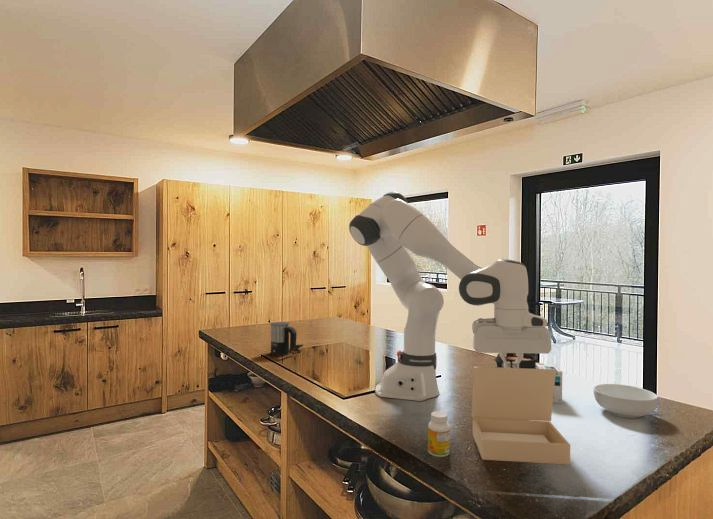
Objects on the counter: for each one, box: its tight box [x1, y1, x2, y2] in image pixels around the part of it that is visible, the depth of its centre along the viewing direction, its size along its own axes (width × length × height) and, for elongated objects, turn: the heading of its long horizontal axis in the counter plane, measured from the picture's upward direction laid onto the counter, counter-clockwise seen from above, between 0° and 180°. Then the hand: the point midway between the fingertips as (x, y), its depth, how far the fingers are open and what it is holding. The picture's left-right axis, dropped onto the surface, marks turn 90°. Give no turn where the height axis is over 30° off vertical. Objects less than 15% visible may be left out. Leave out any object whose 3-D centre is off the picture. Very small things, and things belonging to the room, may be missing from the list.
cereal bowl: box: [593, 383, 659, 419], centre depth 135 cm, size 17×17×7 cm
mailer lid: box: [471, 362, 556, 422], centre depth 119 cm, size 21×15×10 cm
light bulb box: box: [536, 362, 563, 404], centre depth 149 cm, size 11×7×11 cm, turn 168°
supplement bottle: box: [427, 410, 451, 458], centre depth 107 cm, size 5×5×10 cm
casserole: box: [494, 353, 540, 369], centre depth 174 cm, size 25×19×8 cm
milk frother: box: [269, 321, 304, 356], centre depth 212 cm, size 14×16×15 cm
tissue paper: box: [482, 432, 549, 443], centre depth 109 cm, size 16×11×2 cm
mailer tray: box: [472, 417, 571, 465], centre depth 109 cm, size 20×14×5 cm
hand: (511, 369), depth 118 cm, fingers closed
